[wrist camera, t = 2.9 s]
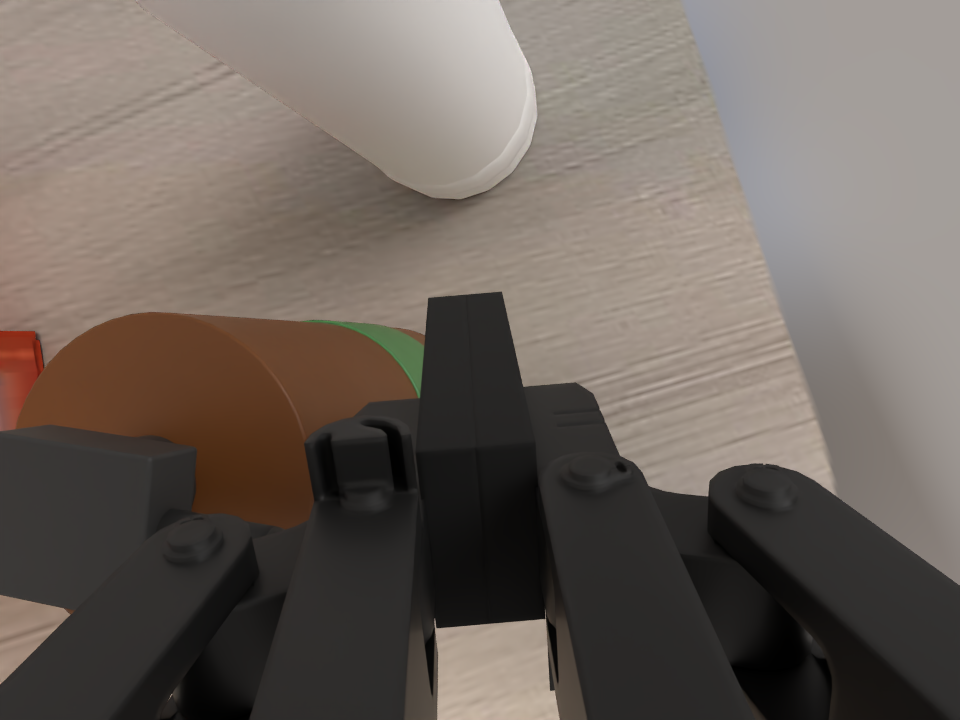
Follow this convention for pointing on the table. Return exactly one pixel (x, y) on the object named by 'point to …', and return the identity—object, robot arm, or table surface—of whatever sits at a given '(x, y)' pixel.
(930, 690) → the robot arm
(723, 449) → the table surface
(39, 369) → the file binder
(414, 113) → the bottle
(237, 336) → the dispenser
